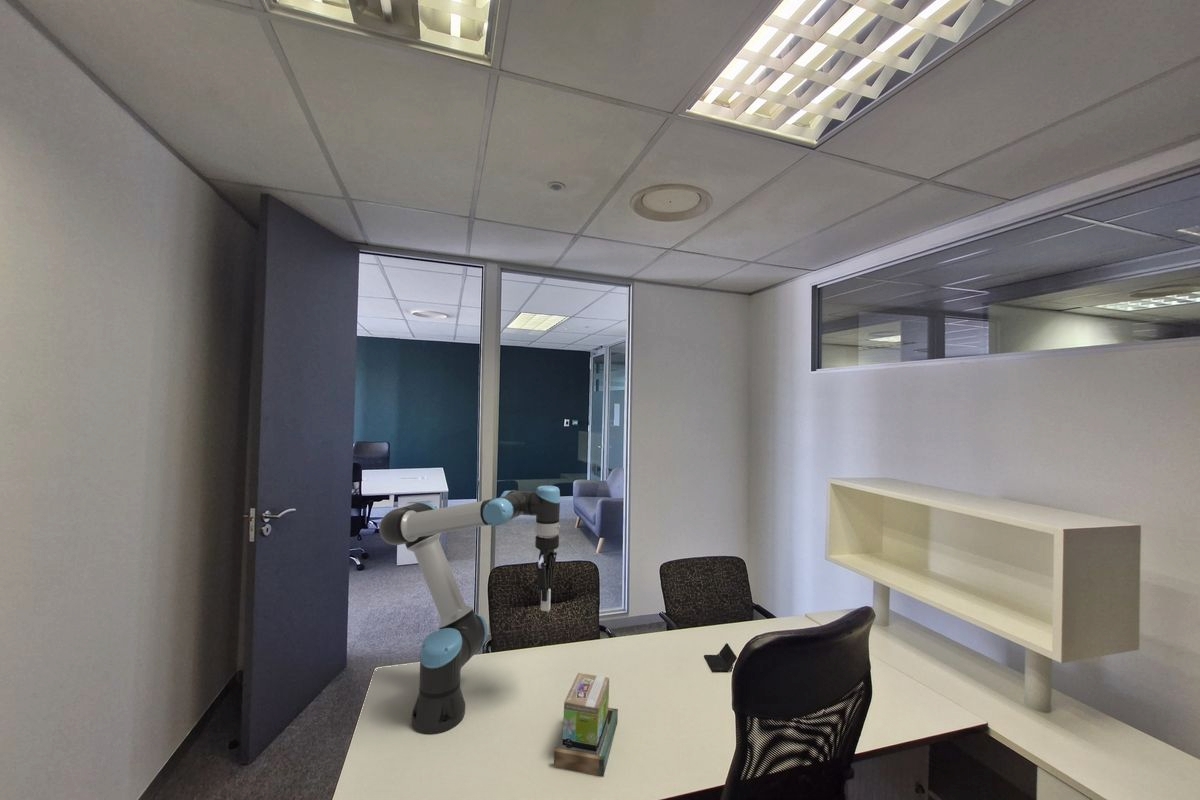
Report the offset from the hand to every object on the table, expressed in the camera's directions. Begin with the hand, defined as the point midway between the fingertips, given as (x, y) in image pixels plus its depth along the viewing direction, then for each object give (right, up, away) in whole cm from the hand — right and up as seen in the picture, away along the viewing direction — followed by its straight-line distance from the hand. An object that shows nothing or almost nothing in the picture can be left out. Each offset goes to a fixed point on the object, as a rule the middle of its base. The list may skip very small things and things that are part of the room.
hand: (545, 609), depth 141 cm
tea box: (+14, -29, -18) cm, 36 cm away
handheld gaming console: (+62, -32, +24) cm, 74 cm away
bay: (+13, -29, -18) cm, 36 cm away
